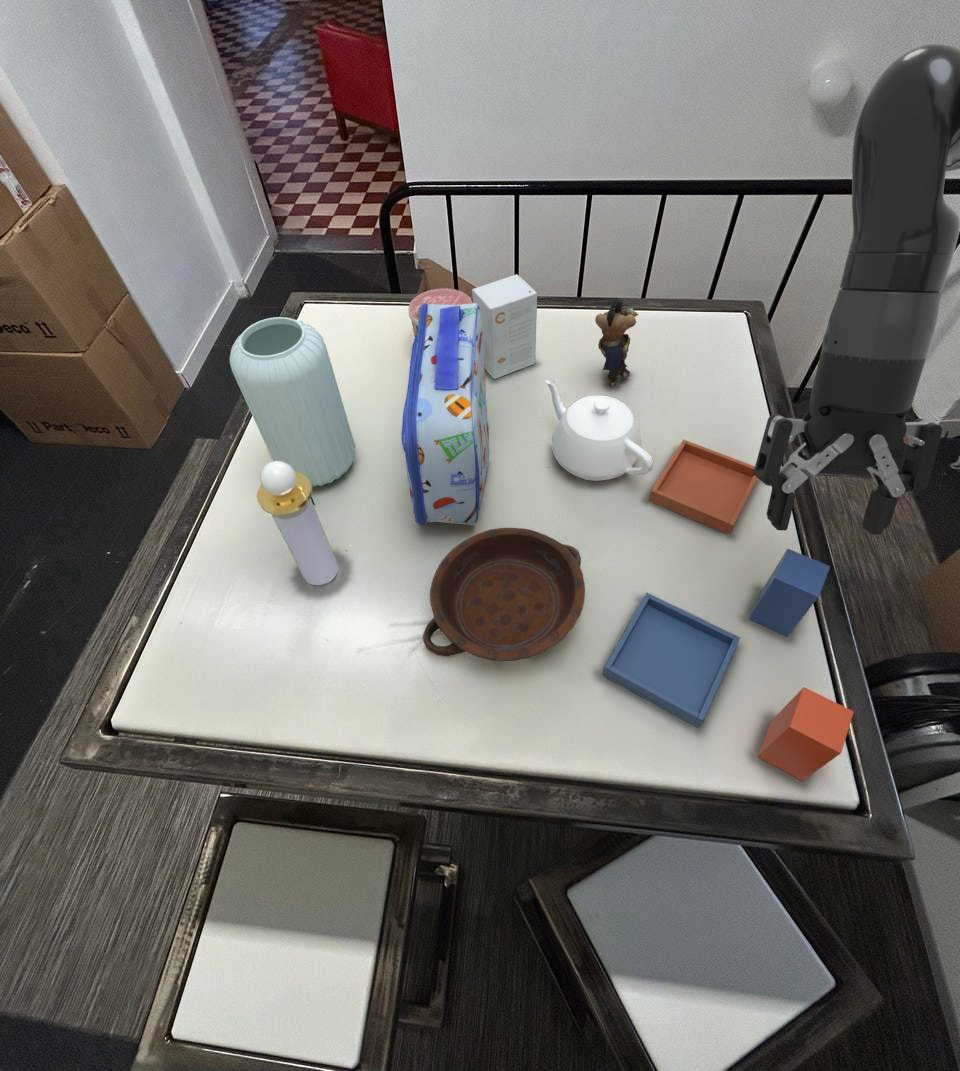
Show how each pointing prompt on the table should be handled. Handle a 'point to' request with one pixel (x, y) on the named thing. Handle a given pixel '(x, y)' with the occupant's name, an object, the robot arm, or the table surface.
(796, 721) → the terracotta block
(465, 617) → the dish
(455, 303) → the container
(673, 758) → the table surface
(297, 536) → the perfume bottle
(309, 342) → the vase
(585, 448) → the teapot
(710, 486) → the terracotta tray
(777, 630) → the blue block
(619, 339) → the figurine
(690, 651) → the blue tray
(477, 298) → the small box
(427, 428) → the lunch box
